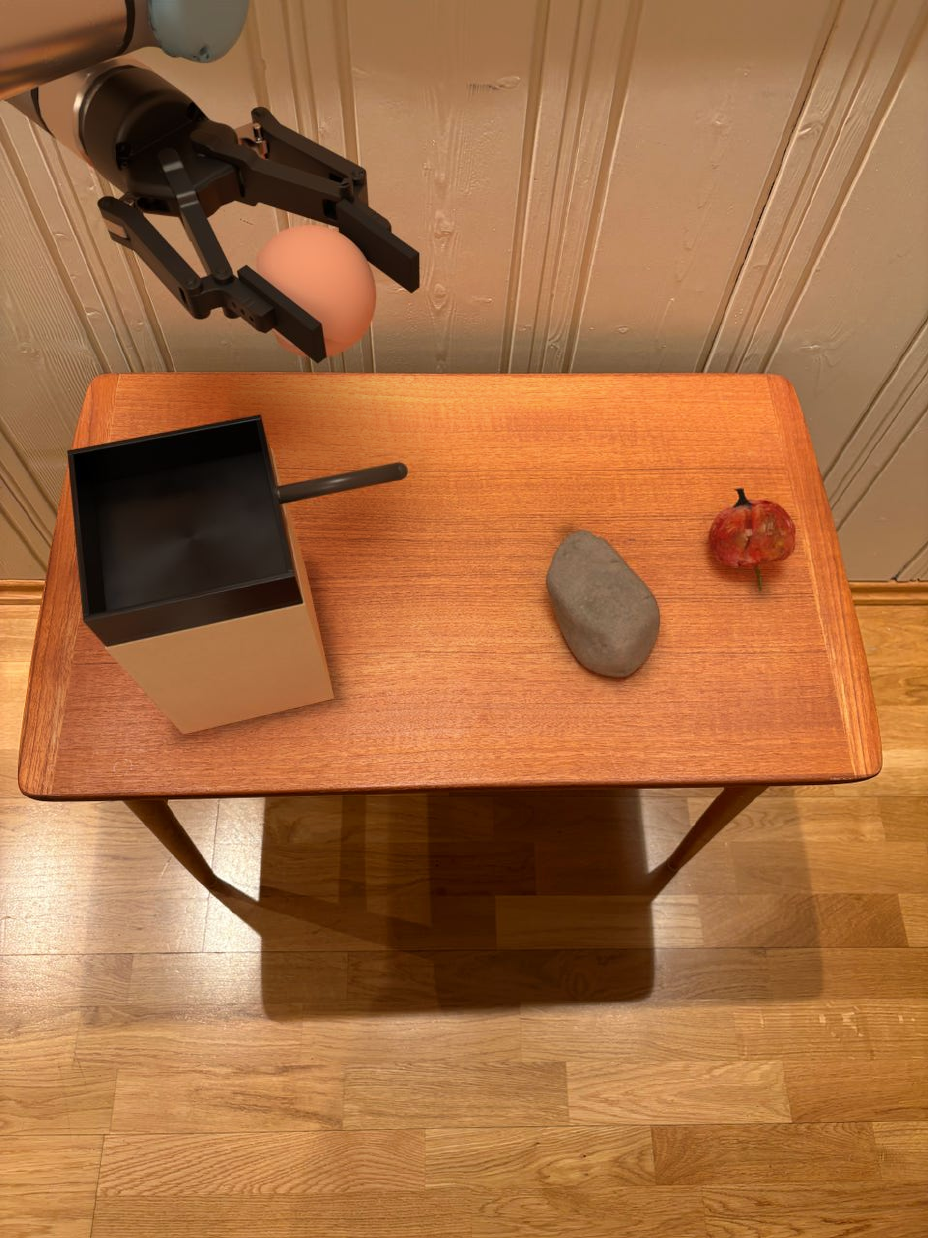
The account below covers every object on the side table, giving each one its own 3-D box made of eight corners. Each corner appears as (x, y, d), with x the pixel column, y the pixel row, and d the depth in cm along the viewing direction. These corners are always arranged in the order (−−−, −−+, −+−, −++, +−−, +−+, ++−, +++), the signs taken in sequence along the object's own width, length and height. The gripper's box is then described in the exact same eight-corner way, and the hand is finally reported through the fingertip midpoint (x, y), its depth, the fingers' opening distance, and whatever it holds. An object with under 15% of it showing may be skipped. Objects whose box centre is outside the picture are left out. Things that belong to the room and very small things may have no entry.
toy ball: (253, 305, 58) (229, 207, 51) (362, 284, 59) (353, 184, 52) (278, 394, 55) (256, 303, 48) (392, 370, 56) (387, 277, 49)
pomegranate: (781, 575, 82) (769, 474, 80) (816, 590, 75) (805, 480, 73) (707, 591, 82) (693, 491, 80) (736, 608, 75) (722, 498, 73)
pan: (106, 647, 54) (82, 621, 50) (89, 484, 59) (66, 449, 55) (430, 575, 57) (431, 545, 53) (388, 426, 62) (385, 389, 58)
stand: (183, 735, 71) (104, 649, 54) (164, 600, 76) (87, 483, 59) (334, 698, 73) (305, 604, 56) (306, 570, 78) (272, 447, 61)
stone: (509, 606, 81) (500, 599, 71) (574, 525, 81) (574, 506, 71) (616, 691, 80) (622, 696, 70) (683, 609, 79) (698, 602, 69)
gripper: (254, 111, 63) (478, 270, 57) (24, 247, 56) (252, 443, 51) (233, 3, 56) (485, 171, 50) (-31, 142, 50) (225, 356, 44)
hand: (368, 307), depth 50 cm, fingers closed on toy ball, 7 cm apart
